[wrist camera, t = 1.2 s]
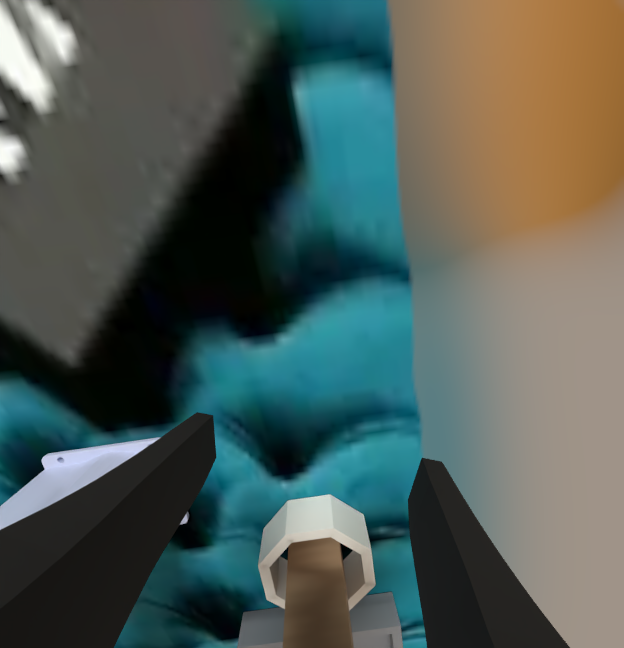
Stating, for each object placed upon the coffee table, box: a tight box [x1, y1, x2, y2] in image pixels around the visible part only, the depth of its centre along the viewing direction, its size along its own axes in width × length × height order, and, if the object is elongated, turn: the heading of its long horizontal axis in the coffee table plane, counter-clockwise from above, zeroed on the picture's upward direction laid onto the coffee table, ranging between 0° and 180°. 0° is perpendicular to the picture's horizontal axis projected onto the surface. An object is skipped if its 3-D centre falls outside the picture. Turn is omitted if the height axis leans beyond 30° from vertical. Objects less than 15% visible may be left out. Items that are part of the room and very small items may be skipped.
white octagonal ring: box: [258, 495, 376, 611], centre depth 23 cm, size 9×9×3 cm
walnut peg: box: [283, 537, 354, 648], centre depth 21 cm, size 4×4×9 cm
